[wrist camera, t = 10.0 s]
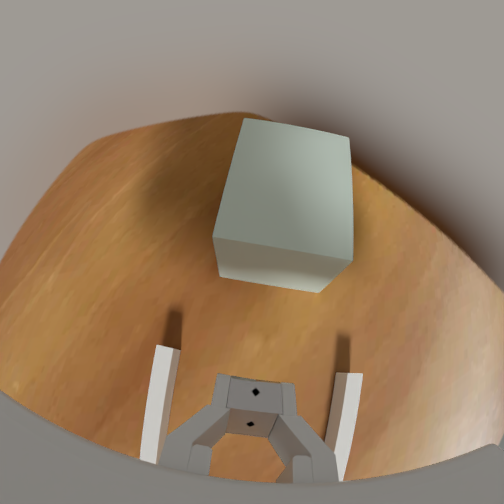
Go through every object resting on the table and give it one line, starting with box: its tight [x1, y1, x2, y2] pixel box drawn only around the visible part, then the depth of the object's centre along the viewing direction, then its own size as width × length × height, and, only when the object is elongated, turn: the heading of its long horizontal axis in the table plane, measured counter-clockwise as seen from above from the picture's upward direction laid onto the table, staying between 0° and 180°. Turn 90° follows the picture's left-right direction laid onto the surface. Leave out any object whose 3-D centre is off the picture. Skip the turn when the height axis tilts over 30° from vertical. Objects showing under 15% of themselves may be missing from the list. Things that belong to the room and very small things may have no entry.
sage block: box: [212, 118, 353, 293], centre depth 21 cm, size 8×10×8 cm
